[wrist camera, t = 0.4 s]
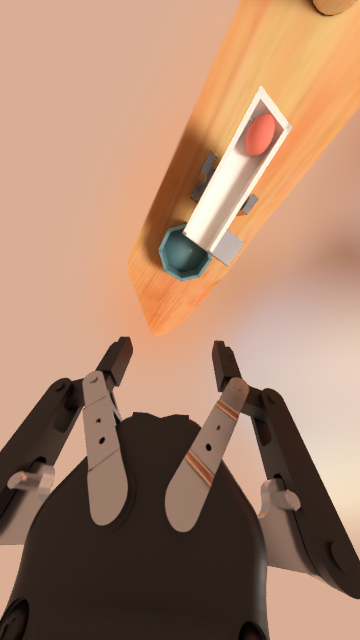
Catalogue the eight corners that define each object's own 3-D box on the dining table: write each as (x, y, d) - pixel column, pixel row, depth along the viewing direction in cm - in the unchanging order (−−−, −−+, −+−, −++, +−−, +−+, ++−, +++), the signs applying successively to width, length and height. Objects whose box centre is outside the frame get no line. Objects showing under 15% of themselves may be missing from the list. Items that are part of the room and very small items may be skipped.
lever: (236, 129, 19) (260, 85, 14) (278, 177, 22) (312, 155, 17) (180, 235, 25) (183, 231, 19) (220, 263, 27) (231, 266, 22)
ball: (254, 116, 16) (268, 95, 14) (271, 137, 17) (286, 121, 15) (236, 149, 18) (246, 135, 15) (252, 166, 19) (264, 156, 16)
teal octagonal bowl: (178, 212, 28) (176, 210, 24) (216, 242, 31) (221, 245, 27) (156, 258, 33) (151, 263, 29) (191, 280, 36) (191, 288, 32)
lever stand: (206, 164, 24) (218, 132, 16) (241, 198, 27) (268, 186, 18) (190, 196, 27) (193, 184, 18) (224, 224, 29) (240, 225, 21)
